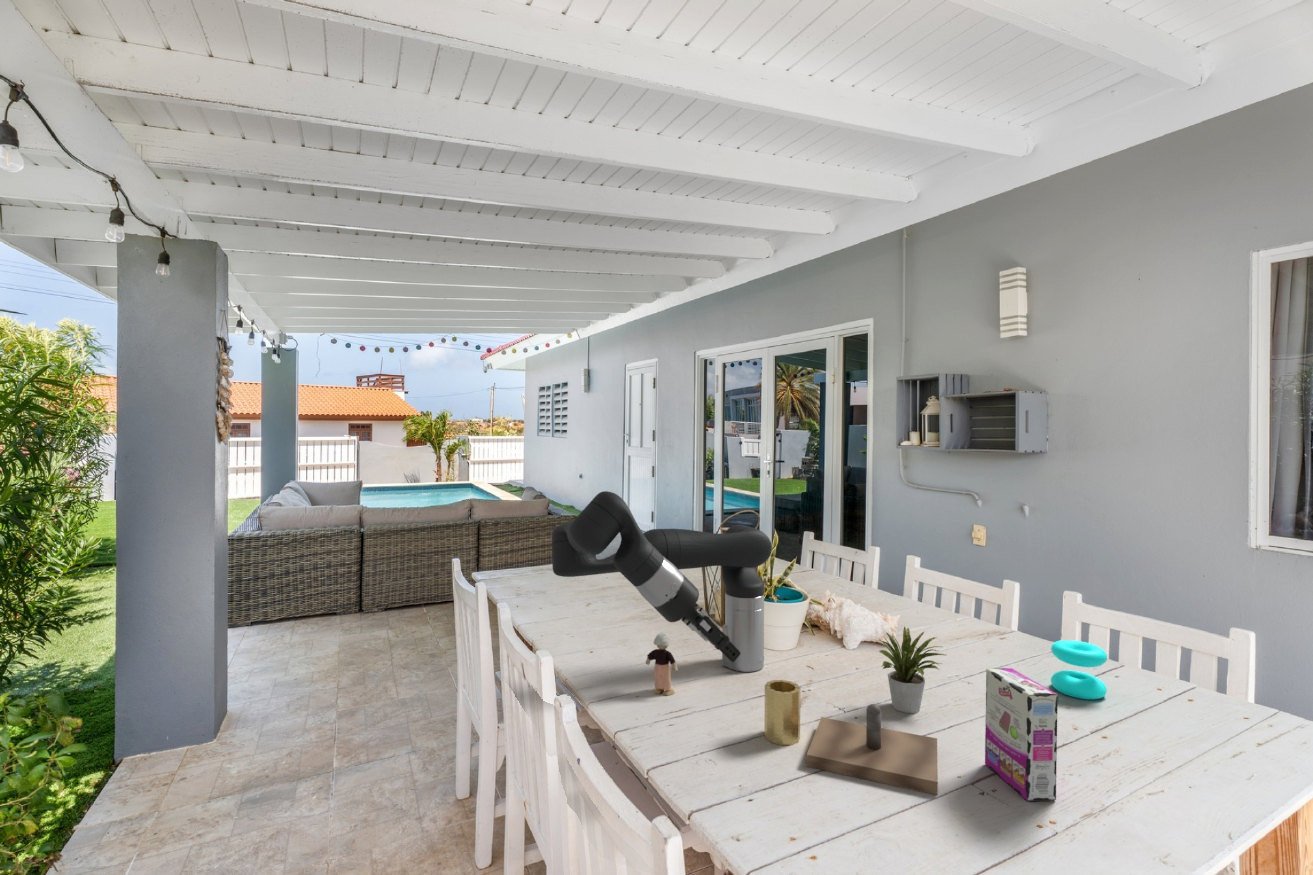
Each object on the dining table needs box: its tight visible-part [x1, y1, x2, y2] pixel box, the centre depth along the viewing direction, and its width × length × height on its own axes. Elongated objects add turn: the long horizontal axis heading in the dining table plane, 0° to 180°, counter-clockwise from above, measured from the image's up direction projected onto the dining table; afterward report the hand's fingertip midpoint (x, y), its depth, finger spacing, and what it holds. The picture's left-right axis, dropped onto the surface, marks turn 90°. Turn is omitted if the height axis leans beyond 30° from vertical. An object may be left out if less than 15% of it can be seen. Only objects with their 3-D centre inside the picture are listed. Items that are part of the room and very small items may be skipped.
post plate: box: [806, 703, 939, 796], centre depth 108 cm, size 20×15×9 cm
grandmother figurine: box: [645, 632, 678, 696], centre depth 135 cm, size 8×4×13 cm, turn 71°
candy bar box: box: [984, 667, 1059, 802], centre depth 101 cm, size 11×5×16 cm, turn 5°
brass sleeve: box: [763, 679, 801, 746], centre depth 115 cm, size 6×6×9 cm
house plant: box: [875, 626, 946, 714], centre depth 126 cm, size 14×14×16 cm
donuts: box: [1050, 639, 1108, 700], centre depth 135 cm, size 10×10×10 cm
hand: (726, 648), depth 111 cm, fingers open, 8 cm apart
